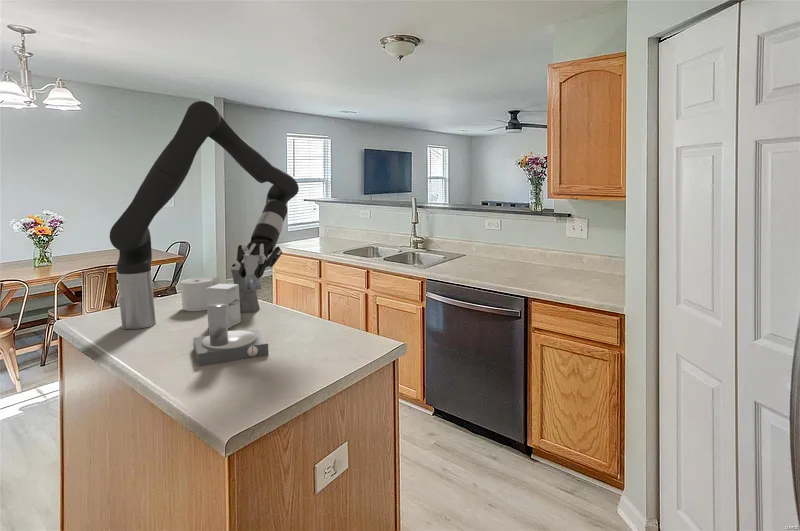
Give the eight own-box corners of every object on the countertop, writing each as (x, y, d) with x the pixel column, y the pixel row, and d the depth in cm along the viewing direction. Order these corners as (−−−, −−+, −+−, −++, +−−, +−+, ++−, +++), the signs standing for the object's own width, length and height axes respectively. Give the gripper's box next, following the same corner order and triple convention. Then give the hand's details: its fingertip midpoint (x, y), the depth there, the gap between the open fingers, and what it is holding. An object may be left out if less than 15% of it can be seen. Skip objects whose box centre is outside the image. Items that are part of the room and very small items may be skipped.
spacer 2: (247, 291, 140) (245, 256, 138) (244, 288, 144) (242, 254, 142) (262, 289, 142) (261, 255, 140) (259, 286, 146) (258, 253, 144)
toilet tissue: (175, 310, 172) (173, 282, 170) (198, 302, 183) (196, 276, 181) (201, 312, 169) (199, 284, 167) (223, 304, 180) (221, 277, 178)
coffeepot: (268, 310, 171) (265, 259, 168) (242, 315, 165) (239, 263, 162) (247, 302, 182) (244, 254, 179) (222, 307, 176) (219, 257, 172)
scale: (198, 366, 120) (197, 352, 120) (194, 348, 133) (193, 335, 132) (268, 354, 128) (268, 341, 127) (257, 339, 141) (257, 327, 140)
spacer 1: (211, 347, 123) (208, 308, 121) (209, 342, 127) (206, 304, 125) (229, 344, 125) (226, 306, 123) (227, 339, 129) (224, 302, 127)
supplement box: (229, 329, 150) (226, 288, 148) (207, 327, 152) (204, 287, 149) (241, 322, 157) (239, 283, 155) (220, 321, 159) (218, 282, 157)
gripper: (241, 221, 148) (221, 268, 139) (285, 222, 145) (267, 270, 136) (251, 237, 154) (232, 282, 145) (293, 238, 151) (277, 285, 142)
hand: (249, 276), depth 140 cm, fingers closed on spacer 2, 4 cm apart
